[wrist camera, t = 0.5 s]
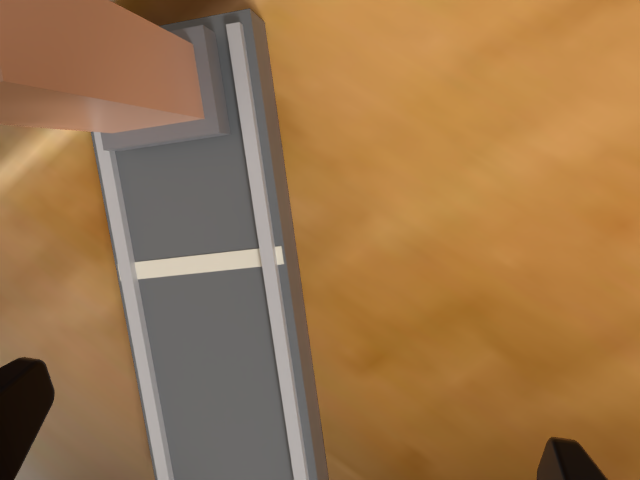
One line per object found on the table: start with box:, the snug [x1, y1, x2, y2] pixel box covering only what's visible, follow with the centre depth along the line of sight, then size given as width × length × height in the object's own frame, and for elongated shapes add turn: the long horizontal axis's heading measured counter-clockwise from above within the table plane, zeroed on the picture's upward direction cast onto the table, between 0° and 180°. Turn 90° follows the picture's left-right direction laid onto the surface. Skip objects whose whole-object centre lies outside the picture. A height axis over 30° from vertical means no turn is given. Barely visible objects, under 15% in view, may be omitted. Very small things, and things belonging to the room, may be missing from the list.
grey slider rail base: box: [91, 9, 329, 480], centre depth 22 cm, size 20×7×2 cm, turn 8°
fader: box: [0, 0, 231, 151], centre depth 15 cm, size 4×4×11 cm
